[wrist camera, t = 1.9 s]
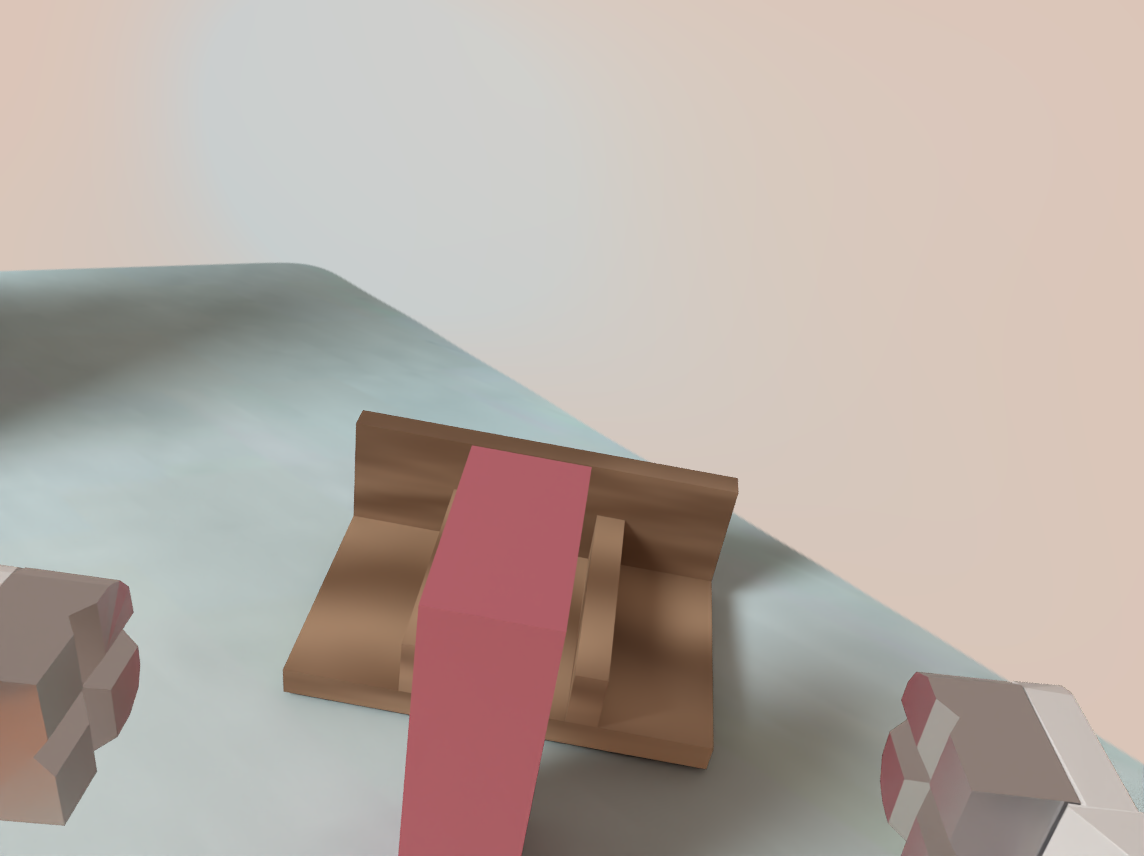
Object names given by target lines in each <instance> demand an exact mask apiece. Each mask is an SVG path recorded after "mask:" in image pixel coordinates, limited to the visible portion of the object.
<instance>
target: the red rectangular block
mask: <svg viewBox="0 0 1144 856" xmlns="http://www.w3.org/2000/svg"><path fill="white" fill-rule="evenodd" d="M591 469H592V467H588V466H583V465H577V464H572V463H566V462H561V461H555V460H550V459H544V458H539V457H533V456H528V455H522V454H517V453H511V452H506V451H500V450H495V449H490V448H484V447H479V446H473V445H472V447H471V450H470V452H469V455H468V458H467V461H466V464H465V467H464V470H463V473H462V476H461V479H460V482H459V485H458V488H457V491H456V494H455V497H454V500H453V503H452V506H451V509H450V512H449V515H448V518H447V521H446V524H445V527H444V530H443V533H442V536H441V539H440V542H439V545H438V548H437V551H436V554H435V557H434V560H433V563H432V566H431V569H430V572H429V575H428V578H427V581H426V584H425V587H424V590H423V593H422V596H421V599H420V602H419V605H418V617H417V630H416V642H415V655H414V667H413V680H412V692H411V705H410V717H409V730H408V742H407V755H406V767H405V780H404V792H403V805H402V817H401V830H400V842H399V855H398V856H521V855H522V850H523V845H524V840H525V835H526V830H527V825H528V820H529V815H530V810H531V805H532V800H533V795H534V790H535V785H536V780H537V775H538V770H539V765H540V760H541V755H542V750H543V745H544V740H545V735H546V730H547V725H548V720H549V715H550V710H551V705H552V700H553V695H554V690H555V685H556V680H557V675H558V671H559V666H560V661H561V656H562V651H563V646H564V641H565V636H566V630H567V624H568V617H569V611H570V604H571V598H572V592H573V585H574V579H575V572H576V566H577V559H578V553H579V546H580V540H581V533H582V527H583V520H584V514H585V508H586V501H587V495H588V488H589V482H590V475H591Z"/></svg>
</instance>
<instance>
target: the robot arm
mask: <svg viewBox="0 0 1144 856" xmlns="http://www.w3.org/2000/svg"><path fill="white" fill-rule="evenodd" d="M132 614H133V606H132V601H131V595H130V590H129V586H127V585H126V584H124V583H123V582H121V581H120V580H113V579H106V578H99V577H92V576H84V575H77V574H70V573H63V572H55V571H48V570H41V569H34V568H19V567H13V566H5V565H0V820H2V821H14V822H26V823H38V824H50V825H62V826H65V824H66V822H67V821H68V819H69V817H70V816H71V814H72V812H73V811H74V809H75V807H76V806H77V804H78V802H79V801H80V799H81V797H82V796H83V794H84V792H85V791H86V789H87V787H88V786H89V784H90V782H91V781H92V779H93V777H94V776H95V774H96V772H97V768H96V762H95V755H94V751H95V750H96V749H98V748H100V747H101V746H103V745H105V744H106V743H108V742H110V741H111V740H113V739H115V738H116V737H118V735H119V733H120V731H121V730H122V728H123V726H124V724H125V723H126V721H127V719H128V717H129V715H130V713H131V710H132V706H133V703H134V700H135V697H136V693H137V690H138V687H139V674H140V659H139V650H138V646H137V644H136V643H135V642H134V641H133V640H132V639H131V638H130V637H129V636H128V635H127V634H126V632H125V631H124V630H123V628H124V626H125V625H126V623H127V622H128V620H129V619H130V617H131V616H132ZM901 701H902V704H903V707H904V710H905V713H906V716H907V720H906V721H904V722H903V723H901V724H900V725H898V726H897V727H896V728H894V729H893V730H891V731H890V732H889V736H888V739H887V742H886V745H885V748H884V751H883V755H882V765H881V778H880V784H881V793H882V802H883V806H884V810H885V813H886V817H887V821H888V824H889V825H890V826H891V827H892V828H893V829H894V830H895V831H896V832H897V833H898V834H899V835H900V836H901V837H902V838H903V839H904V840H905V841H906V844H905V846H904V849H903V851H902V854H901V856H1144V813H1143V812H1139V811H1138V809H1137V807H1136V806H1135V804H1134V802H1133V800H1132V799H1131V797H1130V795H1129V793H1128V791H1127V790H1126V788H1125V786H1124V784H1123V783H1122V781H1121V779H1120V777H1119V775H1118V774H1117V772H1116V770H1115V768H1114V767H1113V765H1112V763H1111V761H1110V759H1109V758H1108V756H1107V754H1106V752H1105V751H1104V749H1103V747H1102V745H1101V744H1100V742H1099V740H1098V738H1097V736H1096V735H1095V733H1094V731H1093V729H1092V728H1091V726H1090V724H1089V722H1088V720H1087V719H1086V717H1085V715H1084V713H1083V712H1082V710H1081V708H1080V706H1079V704H1078V703H1077V701H1076V699H1075V698H1074V696H1073V694H1072V693H1071V692H1070V691H1068V690H1067V689H1066V688H1064V687H1063V686H1060V685H1049V684H1038V683H1027V682H1017V681H1013V682H1007V681H997V680H988V679H979V678H970V677H960V676H951V675H942V674H933V673H923V672H916V673H915V674H914V675H913V677H912V678H911V679H910V680H909V681H908V683H907V686H906V689H905V691H904V694H903V697H902V699H901Z"/></svg>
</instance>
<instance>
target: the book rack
mask: <svg viewBox="0 0 1144 856" xmlns="http://www.w3.org/2000/svg"><path fill="white" fill-rule="evenodd" d="M472 445H473V446H479V447H484V448H490V449H495V450H500V451H506V452H511V453H517V454H522V455H528V456H533V457H539V458H544V459H550V460H555V461H561V462H566V463H572V464H577V465H583V466H588V467H592V469H591V475H590V482H589V488H588V495H587V501H586V508H585V514H584V520H583V527H582V533H581V540H580V546H579V553H578V559H577V566H576V572H575V579H574V585H573V592H572V598H571V604H570V611H569V617H568V624H567V630H566V636H565V641H564V646H563V651H562V656H561V661H560V666H559V671H558V675H557V680H556V685H555V690H554V695H553V700H552V705H551V710H550V715H549V720H548V725H547V730H546V735H545V740H550V741H556V742H561V743H567V744H572V745H578V746H583V747H588V748H594V749H599V750H605V751H610V752H616V753H621V754H626V755H632V756H637V757H643V758H648V759H654V760H659V761H664V762H670V763H675V764H681V765H686V766H692V767H697V768H702V769H707V766H708V763H709V760H710V757H711V754H712V752H713V671H712V591H711V581H712V578H713V574H714V571H715V568H716V564H717V561H718V558H719V555H720V551H721V548H722V545H723V541H724V538H725V535H726V532H727V528H728V525H729V522H730V519H731V515H732V512H733V508H734V505H735V502H736V499H737V496H738V479H737V478H733V477H728V476H722V475H716V474H711V473H706V472H700V471H695V470H689V469H683V468H678V467H672V466H667V465H662V464H656V463H651V462H645V461H640V460H634V459H629V458H623V457H618V456H612V455H607V454H601V453H596V452H590V451H585V450H579V449H574V448H568V447H563V446H557V445H552V444H546V443H541V442H535V441H530V440H524V439H519V438H513V437H508V436H502V435H497V434H491V433H486V432H480V431H475V430H469V429H464V428H458V427H453V426H447V425H442V424H436V423H431V422H425V421H420V420H414V419H409V418H403V417H398V416H392V415H387V414H381V413H376V412H370V411H365V410H363V411H362V413H361V415H360V417H359V419H358V421H357V423H356V450H355V487H354V516H353V519H352V521H351V523H350V525H349V527H348V529H347V532H346V534H345V536H344V538H343V540H342V542H341V545H340V547H339V549H338V551H337V553H336V555H335V558H334V560H333V562H332V564H331V566H330V569H329V571H328V573H327V575H326V577H325V579H324V582H323V584H322V586H321V588H320V590H319V592H318V595H317V597H316V599H315V601H314V603H313V605H312V608H311V610H310V612H309V614H308V616H307V619H306V621H305V623H304V625H303V627H302V629H301V632H300V634H299V636H298V638H297V640H296V642H295V645H294V647H293V649H292V651H291V653H290V655H289V658H288V660H287V662H286V664H285V666H284V669H283V686H284V692H290V693H295V694H301V695H306V696H312V697H317V698H322V699H328V700H333V701H339V702H344V703H350V704H355V705H360V706H366V707H371V708H377V709H382V710H388V711H393V712H398V713H404V714H409V715H410V705H411V692H412V680H413V667H414V655H415V642H416V630H417V617H418V605H419V602H420V599H421V596H422V593H423V590H424V587H425V584H426V581H427V578H428V575H429V572H430V569H431V566H432V563H433V560H434V557H435V554H436V551H437V548H438V545H439V542H440V539H441V536H442V533H443V530H444V527H445V524H446V521H447V518H448V515H449V512H450V509H451V506H452V503H453V500H454V497H455V494H456V491H457V488H458V485H459V482H460V479H461V476H462V473H463V470H464V467H465V464H466V461H467V458H468V455H469V452H470V450H471V447H472Z"/></svg>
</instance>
